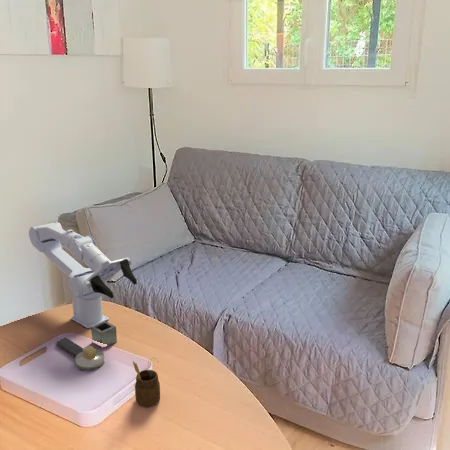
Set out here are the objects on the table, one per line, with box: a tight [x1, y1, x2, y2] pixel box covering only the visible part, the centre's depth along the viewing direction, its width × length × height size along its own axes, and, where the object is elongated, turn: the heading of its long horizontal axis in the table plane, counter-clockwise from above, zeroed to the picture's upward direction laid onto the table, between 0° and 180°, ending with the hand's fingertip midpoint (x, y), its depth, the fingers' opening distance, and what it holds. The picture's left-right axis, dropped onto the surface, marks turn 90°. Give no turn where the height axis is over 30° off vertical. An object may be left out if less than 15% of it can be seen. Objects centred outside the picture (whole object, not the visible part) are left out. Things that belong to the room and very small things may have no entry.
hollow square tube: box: [90, 320, 118, 346], centre depth 148 cm, size 5×5×5 cm
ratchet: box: [55, 337, 105, 372], centre depth 141 cm, size 18×8×4 cm, turn 48°
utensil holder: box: [132, 356, 161, 408], centre depth 122 cm, size 6×6×12 cm
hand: (123, 288), depth 142 cm, fingers open, 7 cm apart
